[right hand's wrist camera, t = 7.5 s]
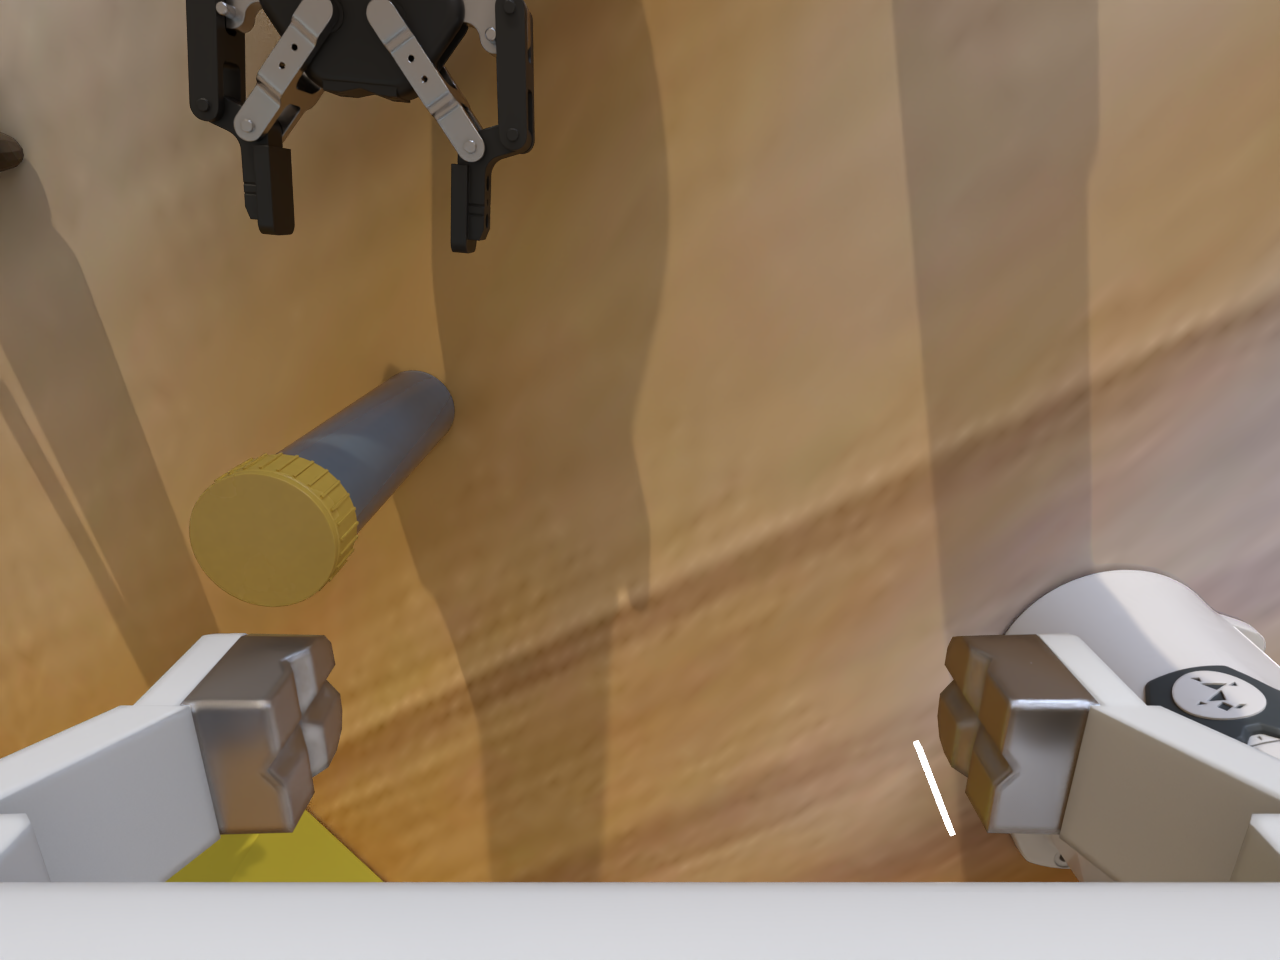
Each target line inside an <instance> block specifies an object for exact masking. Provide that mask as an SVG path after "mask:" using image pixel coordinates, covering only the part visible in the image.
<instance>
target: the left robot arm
mask: <svg viewBox="0 0 1280 960" xmlns="http://www.w3.org/2000/svg"><path fill="white" fill-rule="evenodd" d="M262 8H263V10H264V12H265V13H266V15H267V16H268V18H269V19H270V21H271V22H272V24H273V25H274V27H275V28H276V30H277V31H278V33H279V34H280V36H281V39H280V40H279V42H278V43H277V45H276V46H275V48H274V49H273V51H272V52H271V54H270V55H269V57H268V58H267V60H266V61H265V63H264V64H263V66H262V67H261V69H260V70H259V72H258V74H257V77H256V80H257V84H256V86H255V88H254V89H253V91H252V92H251V94H250V95H249V97H248V98H247V100H246V87H245V33H247V32H249V31H250V30H251V29H252V28H253V26H254V23H255V17H256V15H257V13H258V11H259V10H261V9H262ZM186 15H187V43H188V71H189V100H190V108H191V110H192V112H193V114H194V115H195V116H196V117H197V118H199V119H201V120H204V121H208V122H211V123H213V124H215V125H217V126H219V127H221V128H223V129H225V130H227V131H229V132H231V133H232V134H233V135H234V136H235V137H236V138H237V140H238V141H239V143H240V146H241V154H242V168H243V182H244V192H245V194H244V195H245V207H246V209H247V212H248V214H249V216H250V218H251V219H257V220H258V226H259V230H260V232H261V233H262V234H271V235H289V234H292V233H293V231H294V226H295V223H294V204H293V186H292V167H291V149H285V148H283V145H282V143H283V142H284V141H285V139H286V138H287V136H288V135H289V134H290V132H291V131H292V129H293V128H294V126H295V125H296V123H297V122H298V121H299V119H300V118H301V116H302V115H303V114H304V112H305V111H307V110H309V109H311V108H312V107H313V106H314V105H315V104H316V103H317V101H318V100H319V98H320V97H321V95H322V94H323V93H324V91H327V92H330V93H333V94H336V95H338V96H343V97H353V98H360V97H365V96H370V95H378V96H381V97H383V98H386V99H389V100H391V101H395V102H406V103H410V100H412V99H415V98H417V97H419V98H420V99H421V101H422V102H423V104H424V105H425V107H426V108H427V110H428V111H429V112H430V114H431V115H432V116H433V117H434V118H435V119H436V121H437V122H438V123H439V125H440V126H441V128H442V130H443V131H444V133H445V134H446V136H447V137H448V139H449V140H450V142H451V143H452V145H453V146H454V148H455V149H456V151H457V153H458V164H451V249H452V252H459V253H472V252H474V251H475V248H476V240H478V241H480V240H485V239H486V237H487V234H488V232H489V230H490V202H491V172H492V169H493V167H494V165H495V164H496V163H497V162H498V161H499V160H501V159H503V158H507V157H510V156H514V155H517V154H526V153H528V152H529V151H531V150H532V148H533V146H534V143H535V131H534V69H533V19H532V15H531V13H530V11H529V9H528V7H527V5H526V4H525V2H524V1H523V0H186ZM468 27H473V28H475V29H477V31H478V33H479V36H480V41H481V44H482V46H483V48H484V49H485V50H486V51H487V52H488V53H489V54H490V55H492V56H494V57H496V61H497V95H498V125H496V126H492V127H489V128H486V129H483V128H482V126H481V125H480V123H479V121H478V120H477V118H476V117H475V115H474V114H473V112H472V110H471V108H470V106H469V104H468V102H467V100H466V99H465V97H464V95H463V94H462V92H461V91H460V89H459V88H458V86H457V84H456V83H455V81H454V80H453V78H452V77H451V75H450V73H449V72H448V70H447V69H446V67H445V66H444V64H445V63H446V61H447V60H448V58H449V57H450V56H451V54H452V53H453V51H454V50H455V48H456V47H457V45H458V44H459V43H460V41H461V40H462V38H463V37H464V35H465V34H466V32H467V30H468ZM284 66H285V68H284Z"/></svg>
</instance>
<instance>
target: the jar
mask: <svg viewBox="0 0 1280 960" xmlns="http://www.w3.org/2000/svg"><path fill="white" fill-rule="evenodd" d="M454 412H455V411H454V403H453V400H452V397H451V395H450V393H449V391H448V389H447V388H446V387H445V386H444V384H443V383H442V382H441V381H439V380H438V379H437V378H435V377H434V376H432V375H430V374H427V373H425V372H421V371H404V372H401V373H398V374H396V375H394V376H392V377H391V378H389V379H388V380H386V381H385V382H383V383H382V384H380V385H379V386H377V387H376V388H374V389H373V390H371V391H370V392H368V393H367V394H365V395H364V396H362V397H361V398H359V399H358V400H356V401H355V402H353V403H352V404H350V405H349V406H347V407H346V408H344V409H343V410H341V411H340V412H338V413H337V414H335V415H334V416H332V417H331V418H329V419H328V420H326V421H325V422H323V423H322V424H320V425H319V426H317V427H315V428H314V429H312V430H311V431H309V432H308V433H306V434H305V435H303V436H302V437H300V438H299V439H297V440H296V441H294V442H293V443H291V444H290V445H288V446H287V447H285V448H284V449H282V450H281V451H279V452H278V453H276V454H279V453H283V454H285V455H292V456H295V455H299V457H301V458H304V459H307V460H309V461H314V463H316V464H318V465H319V466H321V467H323V468H324V469H327V470H329V471H328V472H330V473H331V474H332V475H333V476H334V477H335V478H336V479H337V480H340V483H341V484H342V486H343V487H344V488H345V490H346V491H347V493H349V494H350V496H349V497H350V498H351V501H352V503H353V506H354V507H356V510H355V513H356V518H357V521H359V524H358V525H357V534H358V533H359V531H360V530H361V529H362V528H363V527H364V526H365V525H366V524H367V522H368V521H369V520H370V519H371V518H372V517H373V516H374V515H375V513H376V512H377V511H378V510H379V509H380V508H381V507H382V505H383V504H384V503H385V502H386V501H387V500H388V499H389V498H390V496H391V495H392V494H393V493H394V492H395V491H396V490H397V489H398V487H399V486H400V485H401V484H402V483H403V482H404V481H405V480H406V478H407V477H408V476H409V475H410V474H411V473H412V472H413V471H414V469H415V468H416V467H417V466H418V465H419V464H420V463H421V462H422V460H423V459H424V458H425V457H426V456H427V455H428V454H429V453H430V451H431V450H432V449H433V448H434V447H435V446H436V445H437V444H438V442H439V441H440V440H441V439H442V438H443V437H444V436H445V435H446V433H447V432H448V431H449V429H450V428H451V426H452V423H453V420H454Z"/></svg>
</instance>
